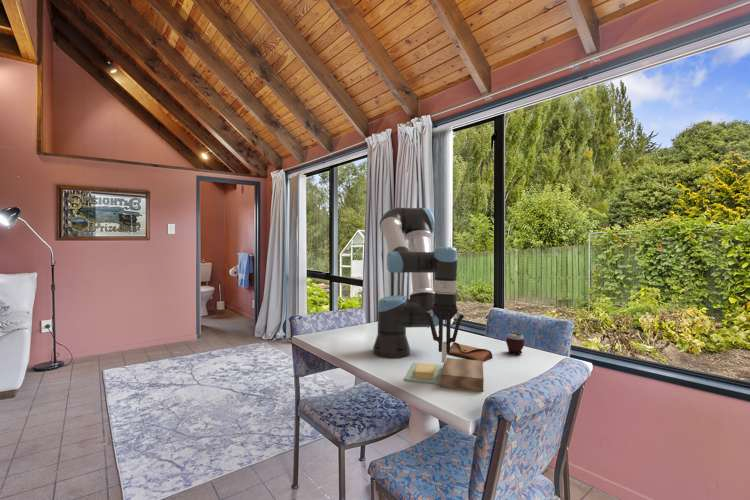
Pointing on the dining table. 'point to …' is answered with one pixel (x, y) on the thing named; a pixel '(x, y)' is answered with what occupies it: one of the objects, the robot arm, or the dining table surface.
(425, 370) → the yellow rectangular block
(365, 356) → the dining table surface
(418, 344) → the dining table surface
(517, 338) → the mate gourd
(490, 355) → the sunglasses case
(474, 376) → the brown piece
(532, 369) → the dining table surface
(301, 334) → the dining table surface
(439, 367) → the mat
